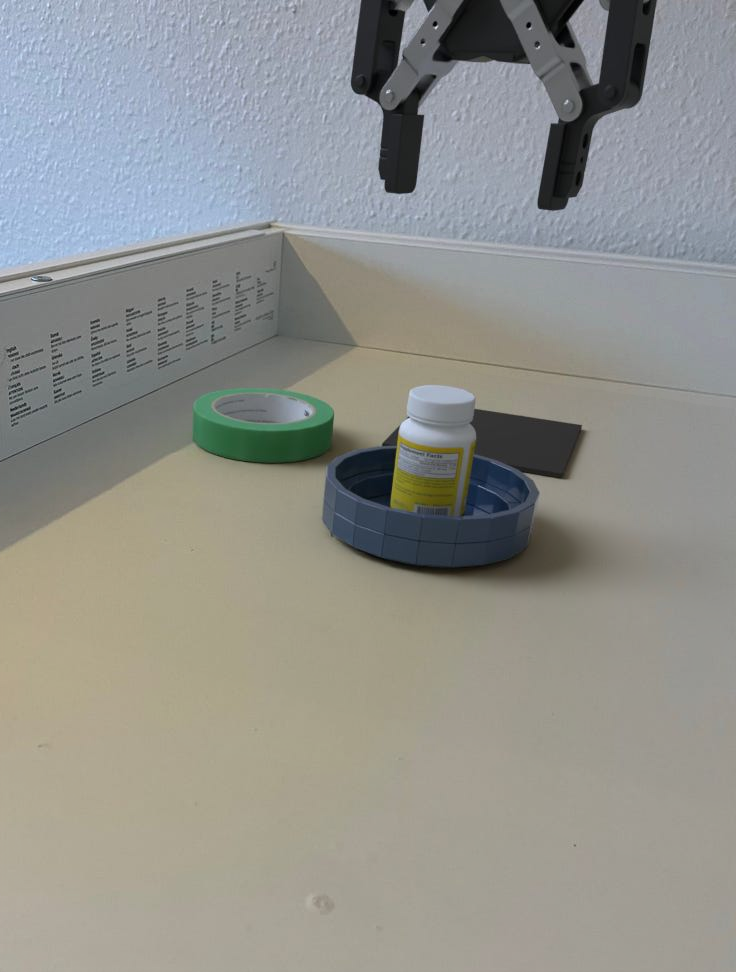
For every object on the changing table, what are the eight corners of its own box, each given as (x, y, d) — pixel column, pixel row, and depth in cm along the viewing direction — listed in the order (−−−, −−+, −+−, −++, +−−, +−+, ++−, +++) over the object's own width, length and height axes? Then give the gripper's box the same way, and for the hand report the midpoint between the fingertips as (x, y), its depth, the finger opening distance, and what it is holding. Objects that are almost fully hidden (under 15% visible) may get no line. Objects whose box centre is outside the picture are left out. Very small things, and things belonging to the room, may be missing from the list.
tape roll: (322, 469, 73) (325, 434, 72) (177, 454, 74) (177, 419, 73) (338, 426, 82) (341, 395, 81) (209, 413, 84) (210, 382, 83)
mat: (581, 429, 85) (582, 424, 85) (561, 478, 74) (563, 473, 74) (422, 405, 90) (423, 400, 89) (381, 448, 78) (382, 443, 78)
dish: (541, 515, 67) (551, 465, 65) (509, 592, 56) (520, 535, 55) (355, 481, 71) (360, 434, 69) (293, 547, 60) (297, 493, 59)
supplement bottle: (422, 504, 66) (440, 379, 62) (477, 527, 63) (499, 397, 59) (372, 519, 64) (387, 389, 60) (427, 544, 61) (447, 408, 56)
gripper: (725, -207, 41) (634, 212, 49) (426, -176, 49) (388, 185, 57) (670, -257, 36) (578, 221, 44) (343, -213, 43) (315, 190, 51)
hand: (471, 200), depth 50 cm, fingers open, 8 cm apart
